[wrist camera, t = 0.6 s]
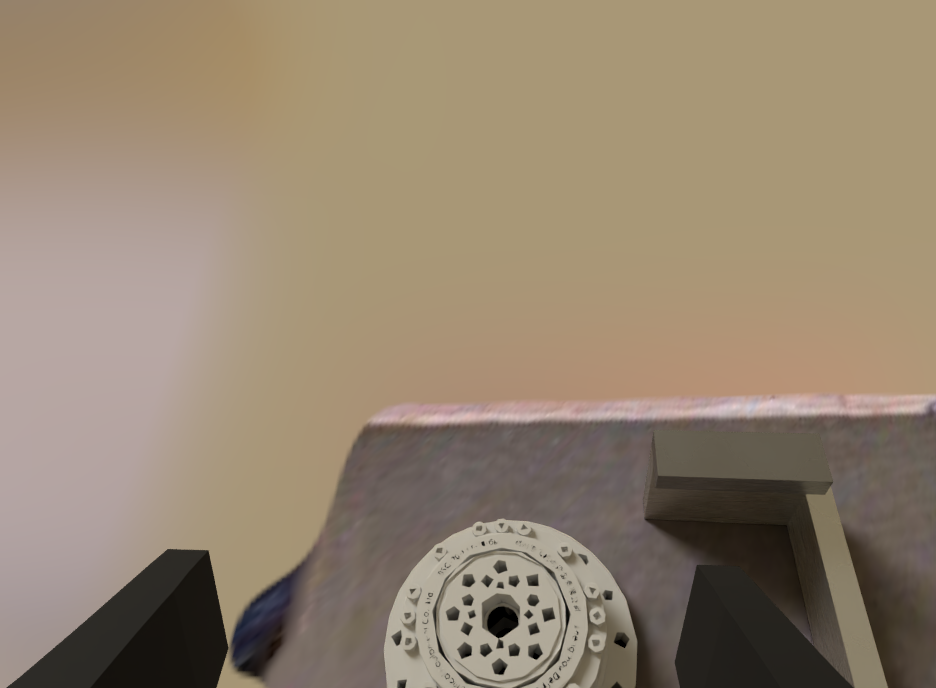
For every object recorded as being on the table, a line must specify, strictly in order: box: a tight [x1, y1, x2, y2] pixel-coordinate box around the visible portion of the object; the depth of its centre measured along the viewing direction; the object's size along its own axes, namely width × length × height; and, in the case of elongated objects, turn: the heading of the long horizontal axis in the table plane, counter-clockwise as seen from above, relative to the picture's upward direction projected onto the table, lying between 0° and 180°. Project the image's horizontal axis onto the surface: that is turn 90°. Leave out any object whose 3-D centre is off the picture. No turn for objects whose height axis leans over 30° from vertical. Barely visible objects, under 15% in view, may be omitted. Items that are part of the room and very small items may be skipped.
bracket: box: [643, 430, 888, 688], centre depth 22 cm, size 14×7×6 cm, turn 173°
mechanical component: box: [384, 519, 637, 688], centre depth 24 cm, size 10×4×10 cm
